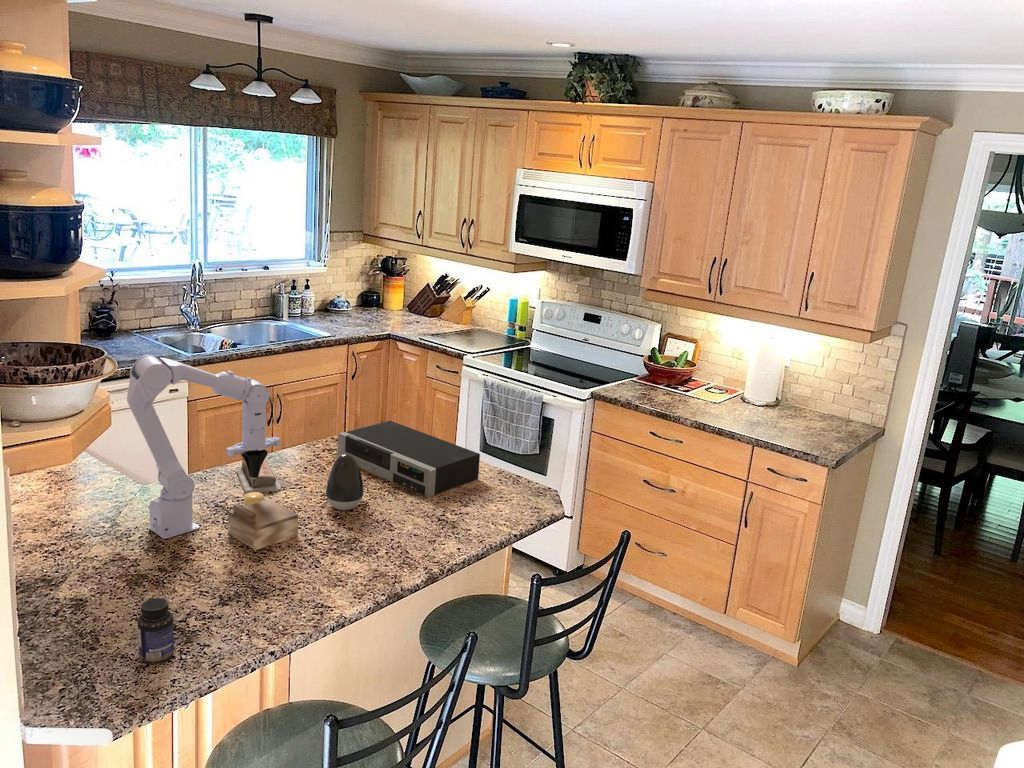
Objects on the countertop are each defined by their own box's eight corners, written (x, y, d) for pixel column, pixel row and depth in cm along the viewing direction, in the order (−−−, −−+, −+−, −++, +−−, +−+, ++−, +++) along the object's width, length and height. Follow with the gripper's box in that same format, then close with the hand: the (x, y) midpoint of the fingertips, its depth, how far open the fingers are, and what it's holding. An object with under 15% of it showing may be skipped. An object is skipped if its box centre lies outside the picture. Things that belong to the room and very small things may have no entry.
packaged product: (235, 456, 244) (269, 453, 249) (235, 472, 246) (269, 469, 250) (245, 479, 229) (282, 476, 233) (245, 496, 230) (281, 492, 235)
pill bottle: (181, 651, 159) (180, 600, 156) (158, 669, 153) (156, 616, 150) (155, 643, 161) (153, 592, 158) (131, 660, 155) (129, 607, 152)
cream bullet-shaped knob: (250, 519, 216) (250, 501, 214) (240, 512, 219) (240, 495, 217) (267, 514, 219) (267, 496, 218) (256, 508, 222) (256, 490, 221)
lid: (255, 530, 198) (255, 518, 198) (228, 514, 206) (228, 502, 205) (298, 517, 207) (298, 505, 206) (270, 501, 215) (270, 490, 214)
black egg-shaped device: (321, 513, 223) (323, 460, 218) (328, 497, 233) (330, 446, 228) (360, 515, 223) (362, 462, 219) (365, 500, 233) (367, 449, 229)
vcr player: (478, 480, 255) (480, 453, 253) (420, 501, 236) (422, 473, 234) (388, 444, 279) (389, 419, 276) (329, 461, 260) (330, 435, 257)
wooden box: (255, 550, 200) (255, 531, 198) (228, 532, 207) (228, 514, 206) (297, 536, 209) (297, 517, 207) (270, 519, 216) (270, 502, 215)
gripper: (236, 436, 205) (237, 488, 208) (287, 425, 215) (286, 474, 219) (221, 429, 209) (222, 479, 213) (271, 418, 220) (271, 466, 223)
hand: (253, 476), depth 216 cm, fingers closed
